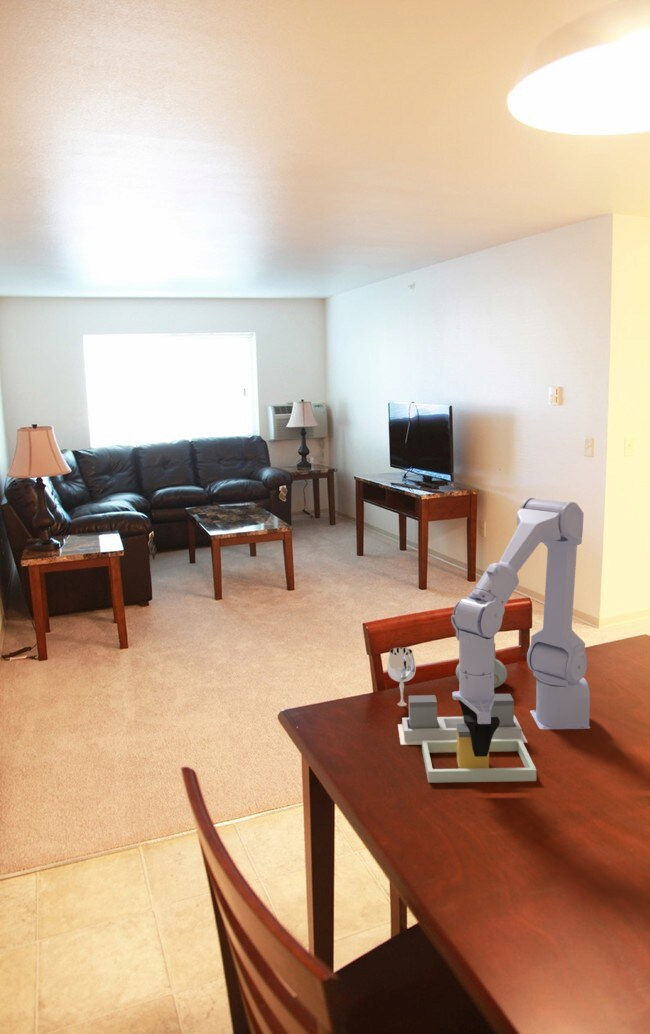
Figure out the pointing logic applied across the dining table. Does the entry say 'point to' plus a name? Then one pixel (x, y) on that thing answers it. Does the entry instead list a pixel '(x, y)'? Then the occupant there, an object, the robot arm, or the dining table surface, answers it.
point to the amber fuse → (468, 750)
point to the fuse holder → (450, 731)
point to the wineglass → (401, 667)
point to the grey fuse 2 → (503, 710)
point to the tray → (479, 773)
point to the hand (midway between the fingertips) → (476, 744)
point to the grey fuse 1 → (422, 712)
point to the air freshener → (499, 672)
